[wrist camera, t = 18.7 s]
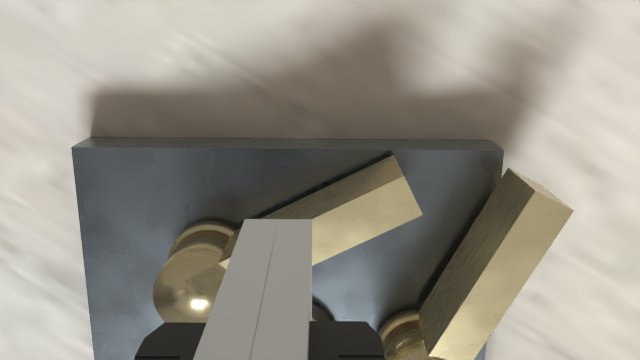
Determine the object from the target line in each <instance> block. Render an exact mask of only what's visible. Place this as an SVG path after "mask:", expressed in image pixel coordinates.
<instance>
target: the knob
mask: <svg viewBox="0 0 640 360" xmlns="http://www.w3.org/2000/svg"><path fill="white" fill-rule="evenodd" d="M421 215H423V214H422V212H421V210H420V208H419V206H418V204H417V202H416V200H415V197H414V195H413V193H412V191H411V189H410V187H409V185H408V183H407V181H406V179H405V177H404V175H403V173H402V170H401V168H400V166H399V164H398V162H397V160H396V158H395V156H394V155H392V156H390V157H388V158H386V159H384V160H382V161H380V162H378V163H375V164H373V165H371V166H369V167H367V168H365V169H363V170H361V171H359V172H357V173H354V174H352V175H350V176H348V177H346V178H344V179H342V180H340V181H338V182H336V183H334V184H331V185H329V186H327V187H325V188H323V189H321V190H319V191H317V192H315V193H313V194H311V195H308V196H306V197H304V198H302V199H300V200H298V201H296V202H294V203H292V204H290V205H287V206H285V207H283V208H281V209H279V210H277V211H275V212H273V213H271V214H269V215H267V216H264V217H262V218H260V219H312V266H313V265H315V264H317V263H319V262H322V261H324V260H326V259H328V258H330V257H332V256H335V255H337V254H339V253H341V252H343V251H345V250H348V249H350V248H352V247H354V246H356V245H358V244H361V243H363V242H365V241H367V240H369V239H371V238H374V237H376V236H378V235H380V234H382V233H385V232H387V231H389V230H391V229H393V228H395V227H398V226H400V225H402V224H404V223H406V222H408V221H411V220H413V219H415V218H417V217H419V216H421ZM241 228H242V227H241ZM241 228H239V229H236V228H234V227H232V226H231V225H229V224H226V223H223V222H219V221H202V222H198V223H195V224H193V225H191V226H189V227H187V228H186V229H185V230H183V231H182V232H181V233H180V235H179V236H178V237H177V239H176V240H175V242H174V243H173V245H172V247H171V249H170V251H169V255H168V260H167V262H166V263H165V265H164V266H163V268H162V269H161V271H160V273H159V274H158V276H157V278H156V280H155V282H154V286H153V302H154V306H155V308H156V310H157V312H158V314H159V315H160V317H161V318H162V319H163V320H164V322H196V323H207V320H208V318H209V315H210V312H211V309H212V307H213V304H214V301H215V299H216V296H217V293H218V290H219V288H220V285H221V282H222V280H223V277H224V274H225V271H226V269H227V266H228V263H229V261H230V258H231V255H232V252H233V250H234V247H235V244H236V242H237V239H238V236H239V233H240V231H241Z"/></svg>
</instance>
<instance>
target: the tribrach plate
mask: <svg viewBox="0 0 640 360" xmlns="http://www.w3.org/2000/svg"><path fill="white" fill-rule="evenodd" d="M503 154H504V150H502V149H501V148H500V147H499V146H497V145H496V144H495V143H493V142H492V141H491V140H376V139H246V138H115V137H90V138H88V139H86V140H84V141H82V142H80V143H78V144H77V145H75V146H73V147H72V157H73V166H74V175H75V184H76V193H77V203H78V212H79V221H80V230H81V239H82V249H83V258H84V267H85V276H86V285H87V295H88V304H89V313H90V322H91V331H92V341H93V350H94V359H95V360H134V358H135V354H136V353H137V351H138V349H139V347H140V345H141V343H142V342H143V340H144V338H145V337H146V336H147V335H149V334H150V333H151V332H153V331H154V330H155V329H157V328H158V327H159V326H161V325H162V324H163V323H165V322H164V320H163V319H162V318H161V317H160V315H159V314H158V312H157V310H156V308H155V306H154V302H153V286H154V282H155V280H156V278H157V276H158V274H159V273H160V271H161V269H162V268H163V266H164V265H165V263H166V262H167V260H168V255H169V251H170V249H171V247H172V245H173V243H174V242H175V240H176V239H177V237H178V236H179V235H180V233H181V232H182V231H183V230H185V229H186V228H187V227H189V226H191V225H193V224H195V223H198V222H202V221H219V222H223V223H226V224H229V225H231V226H232V227H234V228H236V229H239V228H241V227H242V225H243V223H244V220H245V219H260V218H262V217H264V216H267V215H269V214H271V213H273V212H275V211H277V210H279V209H281V208H283V207H285V206H287V205H290V204H292V203H294V202H296V201H298V200H300V199H302V198H304V197H306V196H308V195H311V194H313V193H315V192H317V191H319V190H321V189H323V188H325V187H327V186H329V185H331V184H334V183H336V182H338V181H340V180H342V179H344V178H346V177H348V176H350V175H352V174H354V173H357V172H359V171H361V170H363V169H365V168H367V167H369V166H371V165H373V164H375V163H378V162H380V161H382V160H384V159H386V158H388V157H390V156H392V155H394V156H395V158H396V160H397V162H398V164H399V166H400V168H401V170H402V173H403V175H404V177H405V179H406V181H407V183H408V185H409V187H410V189H411V191H412V193H413V195H414V197H415V200H416V202H417V204H418V206H419V208H420V210H421V212H422V214H423V215H421V216H419V217H417V218H415V219H413V220H411V221H408V222H406V223H404V224H402V225H400V226H398V227H395V228H393V229H391V230H389V231H387V232H385V233H382V234H380V235H378V236H376V237H374V238H371V239H369V240H367V241H365V242H363V243H361V244H358V245H356V246H354V247H352V248H350V249H348V250H345V251H343V252H341V253H339V254H337V255H335V256H332V257H330V258H328V259H326V260H324V261H322V262H319V263H317V264H315V265H313V266H312V321H366V322H367V323H368V324H369V325H370V326H371V327H372V328H373V329H374V330H375V331H376V332H377V333H378V332H379V330H380V328H381V327H382V326H383V324H384V323H385V322H386V321H387V320H388V319H390V318H391V317H392V316H394V315H396V314H398V313H400V312H403V311H407V310H413V309H420V308H421V306H422V305H423V303H424V302H425V300H426V298H427V297H428V295H429V294H430V292H431V290H432V289H433V287H434V286H435V284H436V282H437V281H438V279H439V278H440V276H441V274H442V273H443V271H444V270H445V268H446V266H447V265H448V263H449V262H450V260H451V258H452V257H453V255H454V254H455V252H456V250H457V249H458V247H459V246H460V244H461V242H462V241H463V239H464V238H465V236H466V234H467V233H468V231H469V230H470V228H471V226H472V225H473V223H474V222H475V220H476V218H477V217H478V215H479V214H480V212H481V210H482V209H483V207H484V206H485V204H486V202H487V201H488V199H489V198H490V196H491V194H492V193H493V191H494V190H495V188H496V186H497V185H498V183H499V182H500V180H501V176H502V165H503ZM485 350H486V342H485V344H484V345H483V347H482V348H481V350H480V351H479V353H478V354H477V356H476V357H475V359H474V360H485Z"/></svg>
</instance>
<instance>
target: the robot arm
mask: <svg viewBox="0 0 640 360" xmlns="http://www.w3.org/2000/svg"><path fill="white" fill-rule="evenodd" d="M134 360H385V358H384V350H383V345H382V340H381V336H380V335H379V334H378V333H377V332H376V331H375V330H374V329H373V328H372V327H371V326H370V325H369V324H368V323H367V322H366V321H312V219H245V220H244V223H243V225H242V228H241V231H240V233H239V236H238V239H237V242H236V244H235V247H234V250H233V252H232V255H231V258H230V261H229V263H228V266H227V269H226V271H225V274H224V277H223V280H222V282H221V285H220V288H219V290H218V293H217V296H216V299H215V301H214V304H213V307H212V309H211V312H210V315H209V318H208V320H207V323H196V322H165V323H163V324H162V325H161V326H159V327H158V328H157V329H155V330H154V331H153V332H151V333H150V334H149V335H147V336H146V337H145V338H144V340H143V342H142V343H141V345H140V347H139V349H138V351H137V353H136V354H135V358H134Z"/></svg>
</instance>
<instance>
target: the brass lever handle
mask: <svg viewBox="0 0 640 360" xmlns="http://www.w3.org/2000/svg"><path fill="white" fill-rule="evenodd" d="M572 213H573V210H572V209H571V208H570V207H568V206H567V205H566V204H565V203H563V202H562V201H561V200H560V199H558V198H557V197H556V196H554V195H553V194H552V193H551V192H549V191H548V190H547V189H546V188H544V187H543V186H542V185H540V184H538V183H536V182H534V181H532V180H530V179H529V178H527V177H525V176H523V175H521V174H519V173H517V172H515V171H513V170H511V169H510V168H508V169H507V171H506V172H505V174H504V175H503V177H502V178H501V180H500V182H499V183H498V185H497V186H496V188H495V190H494V191H493V193H492V194H491V196H490V198H489V199H488V201H487V202H486V204H485V206H484V207H483V209H482V210H481V212H480V214H479V215H478V217H477V218H476V220H475V222H474V223H473V225H472V226H471V228H470V230H469V231H468V233H467V234H466V236H465V238H464V239H463V241H462V242H461V244H460V246H459V247H458V249H457V250H456V252H455V254H454V255H453V257H452V258H451V260H450V262H449V263H448V265H447V266H446V268H445V270H444V271H443V273H442V274H441V276H440V278H439V279H438V281H437V282H436V284H435V286H434V287H433V289H432V290H431V292H430V294H429V295H428V297H427V298H426V300H425V302H424V303H423V305H422V306H421V308H420V309H413V310H407V311H403V312H400V313H398V314H396V315H394V316H392V317H391V318H390V319H388V320H387V321H386V322H385V323H384V324H383V326H382V327H381V328H380V330H379V332H378V334H379V335H380V336H381V340H382V345H383V350H384V358H385V360H474V359H475V357H476V356H477V354H478V353H479V351H480V350H481V348H482V347H483V345H484V344H485V342H486V341H487V339H488V338H489V336H490V335H491V333H492V332H493V330H494V329H495V328H496V326H497V325H498V323H499V322H500V320H501V319H502V317H503V316H504V314H505V313H506V311H507V310H508V308H509V307H510V305H511V304H512V302H513V301H514V299H515V298H516V296H517V295H518V293H519V292H520V290H521V289H522V287H523V286H524V284H525V283H526V281H527V280H528V278H529V277H530V275H531V274H532V272H533V271H534V269H535V268H536V266H537V265H538V263H539V262H540V260H541V259H542V257H543V256H544V254H545V253H546V251H547V250H548V248H549V247H550V245H551V244H552V242H553V241H554V239H555V238H556V237H557V235H558V234H559V232H560V231H561V229H562V228H563V226H564V225H565V223H566V222H567V220H568V219H569V217H570V216H571V214H572Z"/></svg>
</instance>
